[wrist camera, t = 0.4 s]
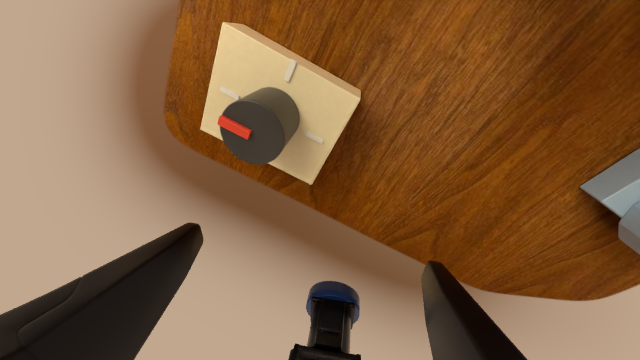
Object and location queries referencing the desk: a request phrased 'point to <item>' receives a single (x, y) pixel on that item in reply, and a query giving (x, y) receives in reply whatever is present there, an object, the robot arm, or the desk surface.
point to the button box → (621, 196)
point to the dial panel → (289, 76)
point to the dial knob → (259, 125)
